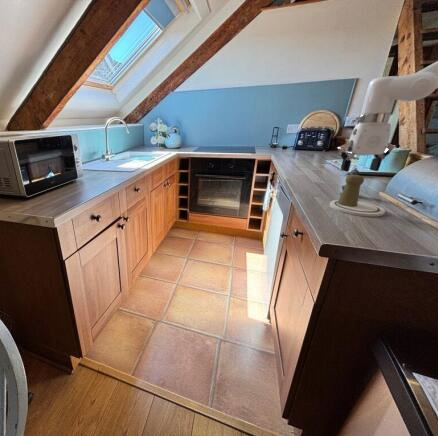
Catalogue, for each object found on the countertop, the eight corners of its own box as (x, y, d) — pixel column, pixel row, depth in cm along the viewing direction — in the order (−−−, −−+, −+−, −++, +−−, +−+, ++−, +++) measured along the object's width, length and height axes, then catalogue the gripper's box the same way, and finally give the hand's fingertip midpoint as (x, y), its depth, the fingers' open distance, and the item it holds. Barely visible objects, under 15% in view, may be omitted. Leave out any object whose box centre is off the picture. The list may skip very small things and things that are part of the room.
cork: (338, 200, 96) (347, 173, 92) (358, 203, 92) (367, 175, 88) (335, 204, 92) (344, 175, 88) (355, 207, 88) (365, 178, 84)
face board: (350, 200, 100) (351, 197, 99) (396, 213, 86) (397, 210, 85) (319, 204, 96) (320, 201, 96) (361, 218, 82) (362, 215, 82)
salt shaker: (344, 196, 104) (352, 168, 100) (336, 192, 110) (344, 166, 105) (359, 197, 103) (368, 169, 99) (351, 193, 109) (359, 166, 104)
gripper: (353, 120, 78) (339, 173, 85) (412, 118, 77) (394, 172, 83) (338, 120, 85) (327, 169, 92) (392, 118, 83) (377, 168, 90)
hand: (359, 170), depth 87 cm, fingers open, 9 cm apart
